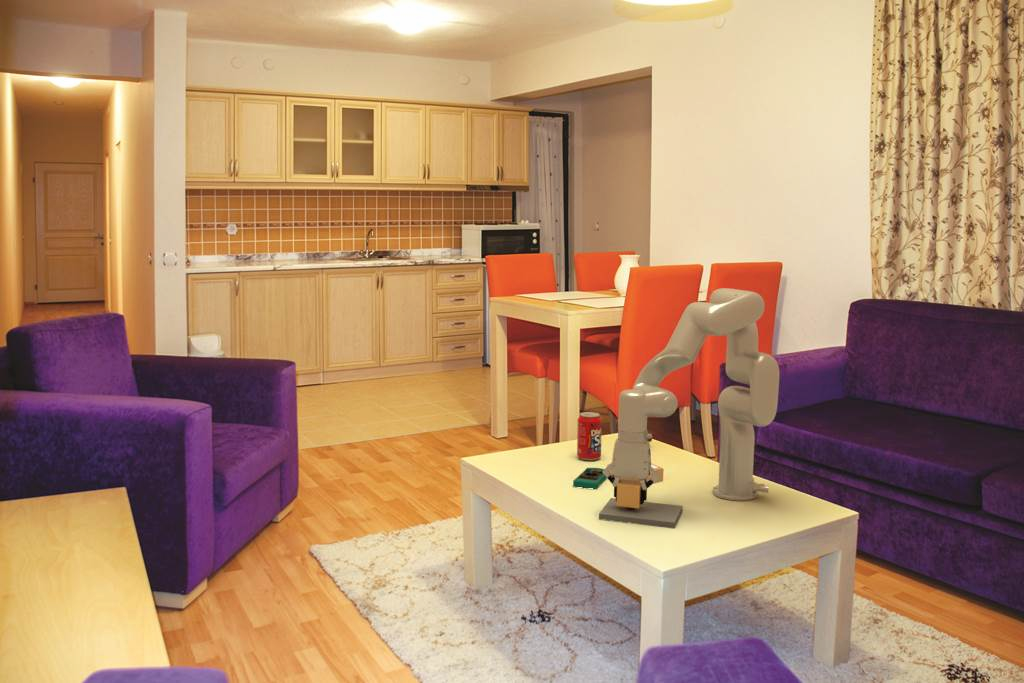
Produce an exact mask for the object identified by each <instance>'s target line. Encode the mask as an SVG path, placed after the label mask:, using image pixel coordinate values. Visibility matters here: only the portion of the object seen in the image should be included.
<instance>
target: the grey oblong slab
mask: <svg viewBox="0 0 1024 683" xmlns="http://www.w3.org/2000/svg"><path fill="white" fill-rule="evenodd" d="M683 510H684V506H683V505H677V504H668V503H660V502H651V501H644V503H643V504H641V506H640V507H639V508H635V510H627V509H626V507H622V506H617V501H616V497H611V498H610V499H609V500H608V501H607V502H606V503H605V505H604V506H603V508H602V509H601V510H600V511H599V513H598V520H602V519H606V520H605V521H610V520H613V522H619V521H622V522H621V523H627V522H631V523H630V524H635V523H637V524H636V525H638V524H639V525H646V526H654V527H662V528H668V529H670V528H671V529H675V527H677V526H676V525H677V524H678V522H679V519H680V517H681V516H682V514H683V512H682V511H683ZM681 513H682V514H681ZM680 515H681V516H680Z"/></svg>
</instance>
